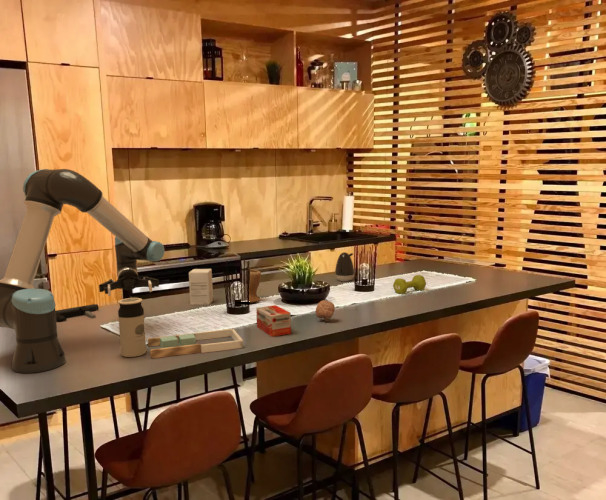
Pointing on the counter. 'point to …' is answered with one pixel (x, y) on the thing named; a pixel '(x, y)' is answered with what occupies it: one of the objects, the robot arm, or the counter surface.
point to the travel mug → (131, 327)
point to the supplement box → (200, 286)
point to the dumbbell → (409, 284)
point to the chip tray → (222, 345)
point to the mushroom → (325, 310)
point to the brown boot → (254, 285)
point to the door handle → (76, 312)
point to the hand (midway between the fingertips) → (130, 290)
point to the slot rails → (172, 348)
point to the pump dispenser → (344, 267)
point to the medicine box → (273, 320)
